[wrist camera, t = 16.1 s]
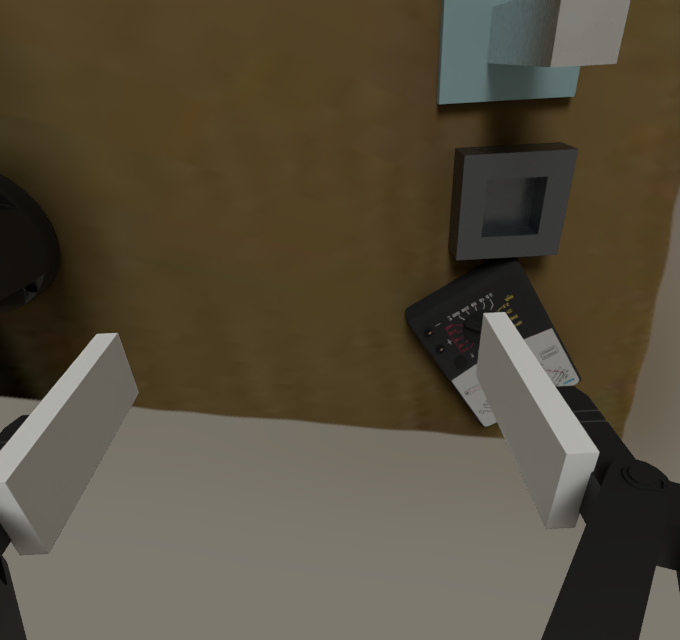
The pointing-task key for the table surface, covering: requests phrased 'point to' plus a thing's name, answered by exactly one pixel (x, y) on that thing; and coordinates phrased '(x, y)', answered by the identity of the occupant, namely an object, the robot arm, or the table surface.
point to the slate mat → (487, 78)
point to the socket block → (509, 200)
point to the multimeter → (466, 324)
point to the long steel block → (557, 32)
